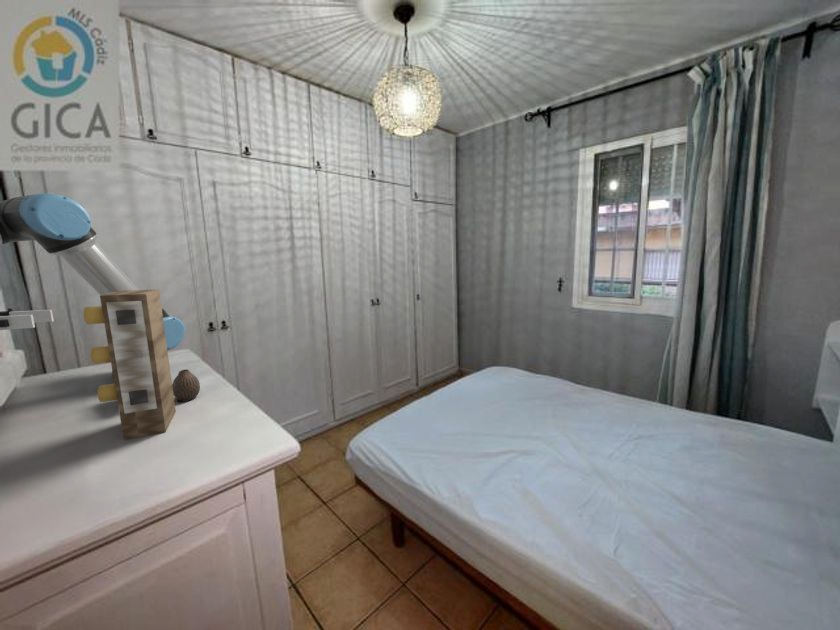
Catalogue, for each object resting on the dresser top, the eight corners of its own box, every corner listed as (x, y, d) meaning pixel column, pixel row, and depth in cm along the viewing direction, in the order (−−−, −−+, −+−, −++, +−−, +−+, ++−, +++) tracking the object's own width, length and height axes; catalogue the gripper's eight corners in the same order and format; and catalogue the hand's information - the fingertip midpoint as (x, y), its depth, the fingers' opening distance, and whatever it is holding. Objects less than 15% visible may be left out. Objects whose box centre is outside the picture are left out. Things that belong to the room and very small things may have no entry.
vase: (187, 404, 97) (183, 375, 95) (167, 402, 98) (163, 373, 97) (206, 394, 104) (203, 367, 102) (188, 392, 105) (184, 366, 103)
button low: (99, 404, 78) (96, 388, 77) (105, 398, 82) (103, 383, 81) (121, 401, 80) (118, 385, 79) (126, 395, 83) (124, 380, 83)
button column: (122, 441, 77) (98, 296, 72) (139, 417, 89) (119, 290, 83) (165, 433, 81) (145, 294, 75) (175, 411, 92) (159, 289, 86)
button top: (85, 325, 75) (82, 308, 74) (92, 322, 78) (89, 305, 78) (108, 324, 77) (105, 307, 76) (114, 321, 80) (112, 304, 79)
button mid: (92, 366, 77) (89, 349, 76) (99, 361, 80) (96, 345, 79) (114, 363, 78) (112, 347, 78) (120, 359, 82) (118, 343, 81)
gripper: (-76, 336, 72) (67, 326, 82) (-180, 361, 55) (18, 345, 65) (-85, 302, 71) (62, 296, 81) (-195, 316, 54) (10, 307, 64)
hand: (42, 318), depth 73 cm, fingers open, 7 cm apart
